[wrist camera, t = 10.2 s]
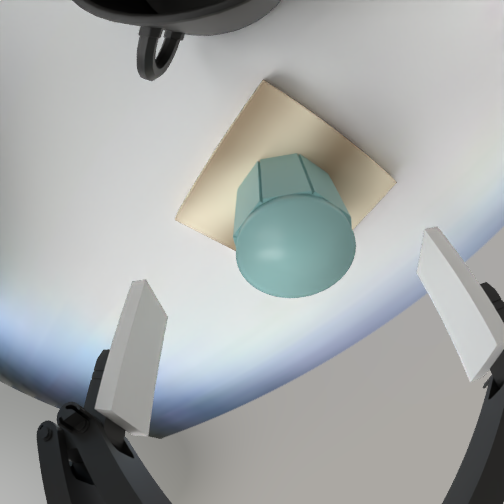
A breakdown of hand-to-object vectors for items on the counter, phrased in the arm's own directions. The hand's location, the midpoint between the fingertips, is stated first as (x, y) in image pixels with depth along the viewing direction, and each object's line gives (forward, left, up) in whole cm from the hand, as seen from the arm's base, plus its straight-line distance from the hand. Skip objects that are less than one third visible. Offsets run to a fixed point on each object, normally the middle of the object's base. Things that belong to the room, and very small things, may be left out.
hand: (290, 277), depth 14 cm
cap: (0, 0, -8) cm, 8 cm away
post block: (0, 0, -9) cm, 9 cm away
